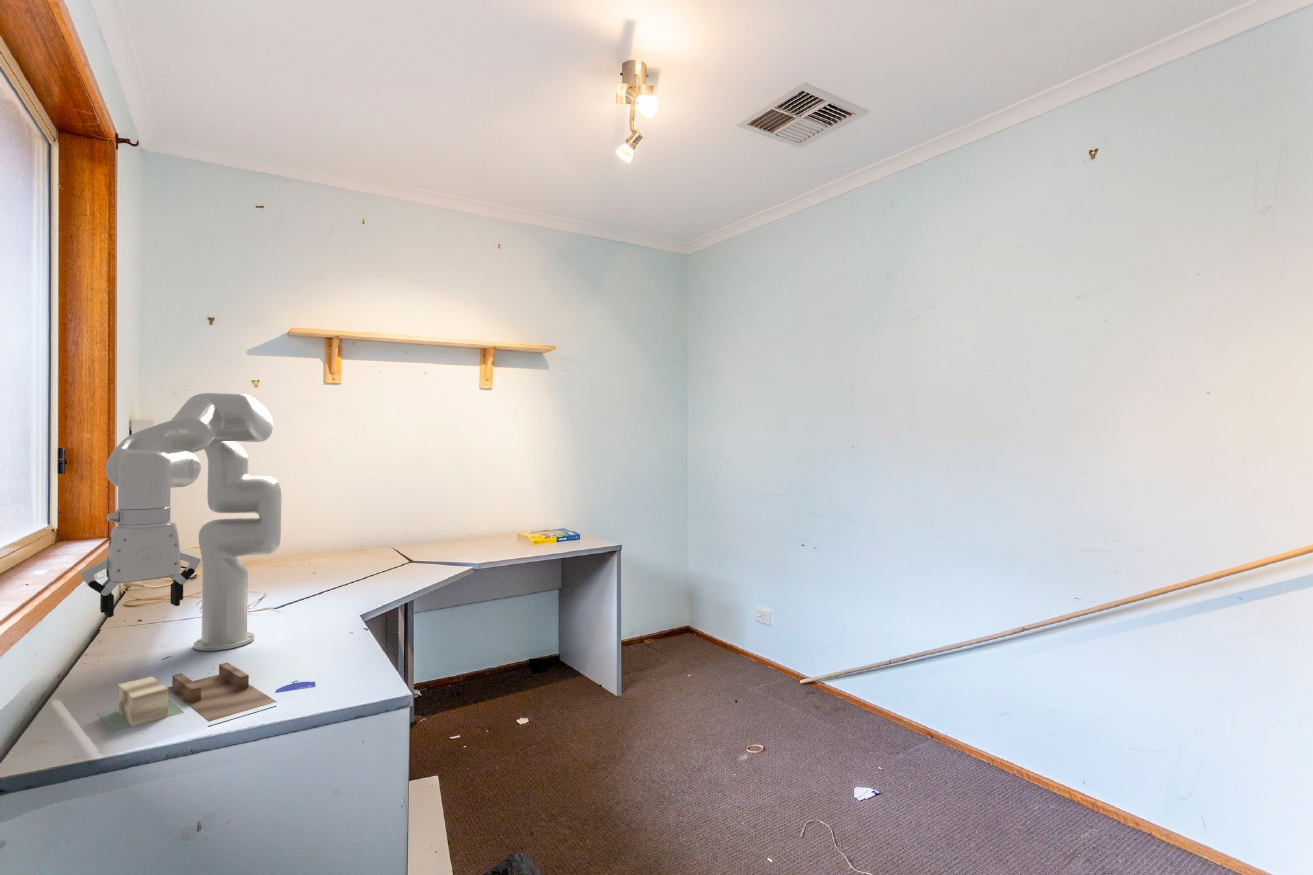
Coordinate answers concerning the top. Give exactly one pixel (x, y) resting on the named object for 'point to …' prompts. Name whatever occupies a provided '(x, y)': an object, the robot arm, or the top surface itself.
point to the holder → (219, 693)
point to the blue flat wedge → (296, 686)
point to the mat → (120, 723)
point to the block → (142, 701)
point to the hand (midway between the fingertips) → (143, 610)
